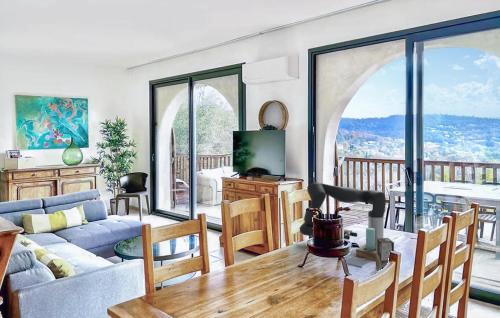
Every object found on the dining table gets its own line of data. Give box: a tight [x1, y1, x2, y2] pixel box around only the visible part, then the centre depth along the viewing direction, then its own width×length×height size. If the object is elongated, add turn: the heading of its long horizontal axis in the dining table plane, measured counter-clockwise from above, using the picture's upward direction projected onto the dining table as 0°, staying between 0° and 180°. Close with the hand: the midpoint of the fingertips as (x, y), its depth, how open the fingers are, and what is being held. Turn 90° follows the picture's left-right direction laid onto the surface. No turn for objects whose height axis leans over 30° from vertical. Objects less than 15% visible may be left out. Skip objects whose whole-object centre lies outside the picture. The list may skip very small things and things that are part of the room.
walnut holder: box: [350, 244, 376, 263], centre depth 223 cm, size 16×16×4 cm
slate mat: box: [346, 256, 372, 268], centre depth 212 cm, size 11×11×1 cm
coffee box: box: [375, 237, 395, 272], centre depth 198 cm, size 9×6×16 cm
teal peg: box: [365, 227, 376, 252], centre depth 223 cm, size 5×5×15 cm
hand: (353, 236), depth 230 cm, fingers open, 8 cm apart
